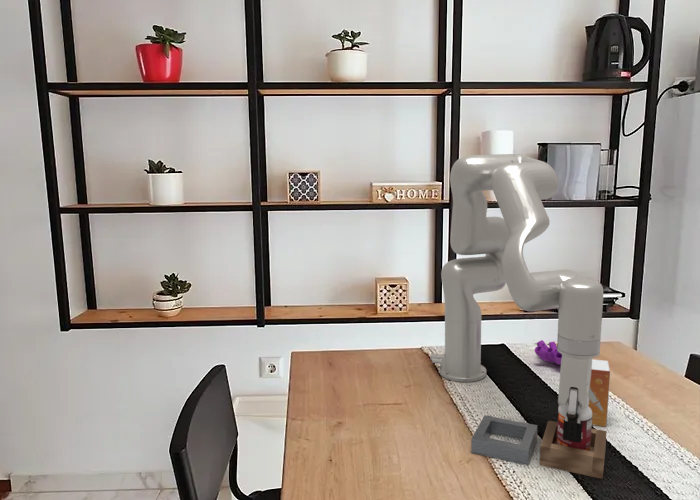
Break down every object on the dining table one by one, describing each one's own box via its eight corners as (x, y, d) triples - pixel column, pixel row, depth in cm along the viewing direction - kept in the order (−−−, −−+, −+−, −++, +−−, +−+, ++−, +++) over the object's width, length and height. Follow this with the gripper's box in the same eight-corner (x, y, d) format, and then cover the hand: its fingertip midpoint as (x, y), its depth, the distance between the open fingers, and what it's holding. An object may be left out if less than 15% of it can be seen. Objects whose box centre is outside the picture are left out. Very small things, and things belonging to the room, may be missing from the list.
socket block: (471, 452, 111) (471, 438, 111) (484, 428, 121) (484, 415, 121) (528, 465, 107) (528, 450, 106) (536, 438, 116) (537, 425, 116)
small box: (567, 422, 123) (569, 366, 120) (566, 409, 129) (568, 356, 126) (607, 427, 120) (610, 370, 118) (604, 414, 126) (607, 359, 124)
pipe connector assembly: (587, 375, 155) (600, 356, 148) (536, 379, 154) (547, 360, 147) (571, 341, 163) (583, 322, 156) (522, 344, 161) (532, 325, 154)
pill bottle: (551, 449, 108) (553, 397, 106) (562, 437, 113) (565, 386, 111) (584, 460, 104) (587, 406, 102) (594, 446, 109) (597, 394, 107)
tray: (539, 465, 107) (540, 445, 106) (547, 438, 116) (548, 420, 115) (602, 478, 102) (603, 458, 101) (605, 449, 111) (606, 431, 111)
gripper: (562, 328, 114) (558, 409, 117) (551, 356, 99) (547, 449, 102) (602, 332, 111) (597, 416, 114) (597, 363, 96) (591, 458, 99)
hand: (573, 431), depth 108 cm, fingers closed on pill bottle, 6 cm apart
